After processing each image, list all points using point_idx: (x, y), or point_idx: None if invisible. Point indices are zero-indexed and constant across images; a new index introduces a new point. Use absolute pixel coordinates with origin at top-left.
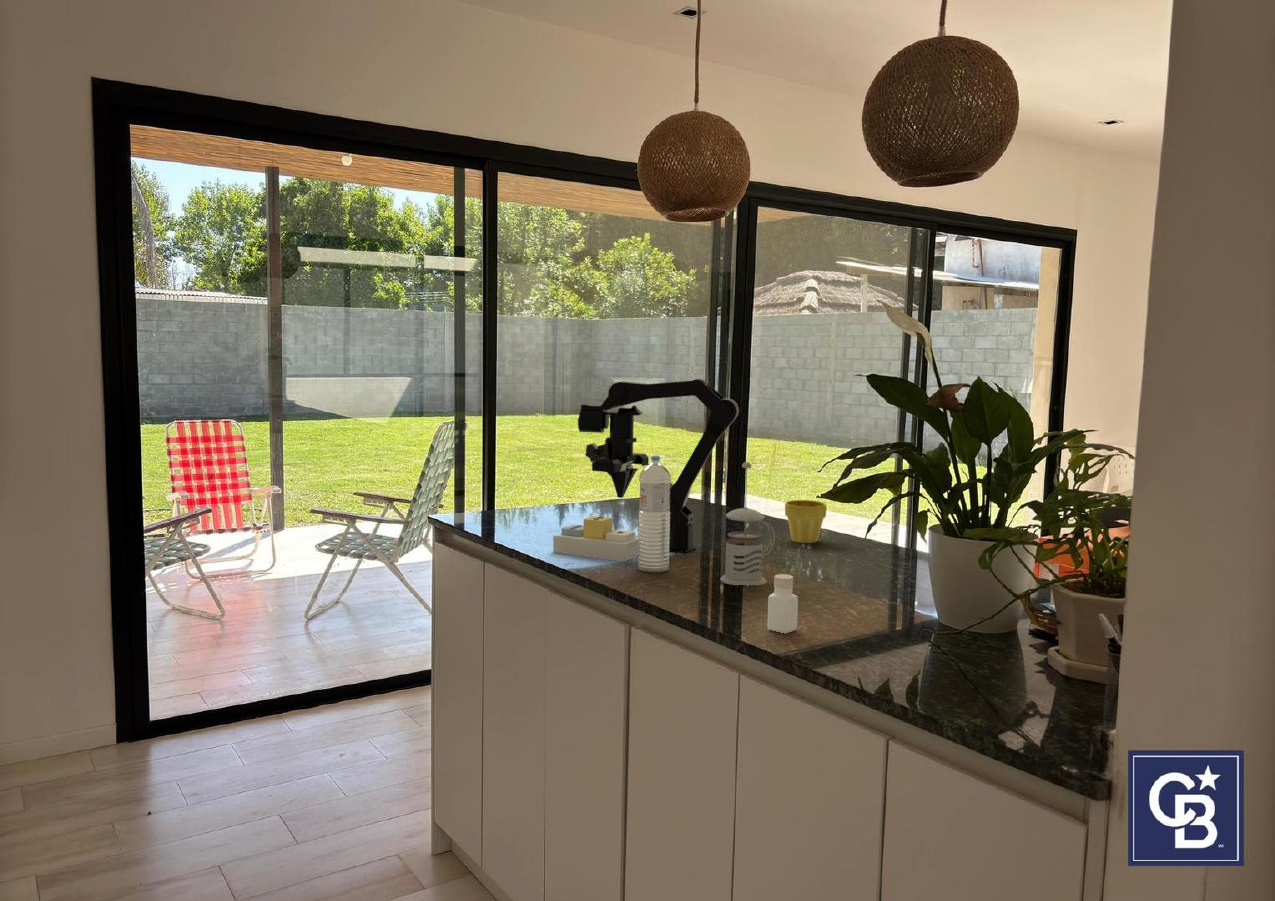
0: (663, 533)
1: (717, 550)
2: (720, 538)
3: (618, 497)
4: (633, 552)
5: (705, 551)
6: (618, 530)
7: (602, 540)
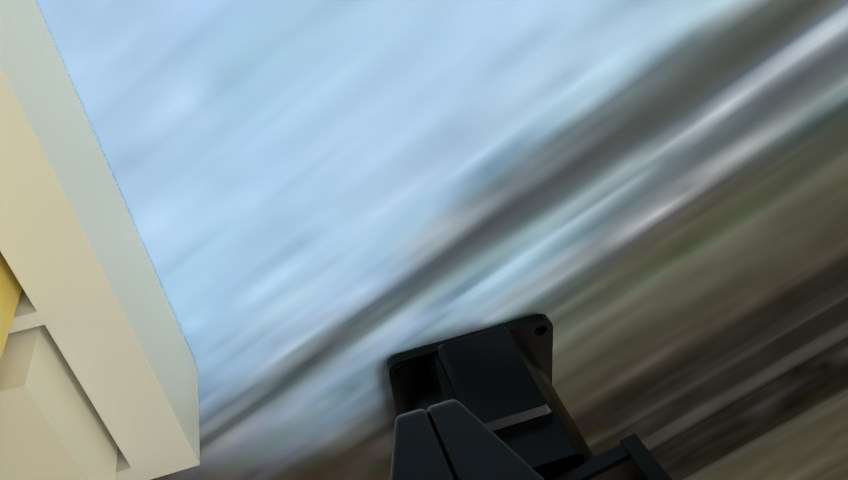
0: None
1: None
2: (832, 327)
3: (395, 422)
4: None
5: None
6: (22, 414)
7: None
